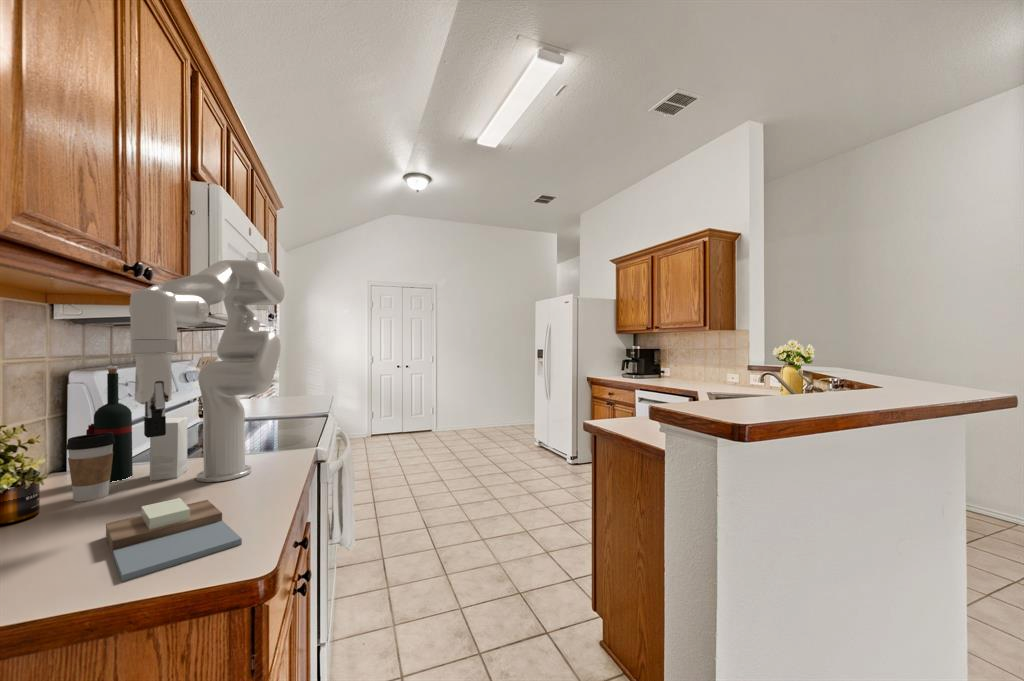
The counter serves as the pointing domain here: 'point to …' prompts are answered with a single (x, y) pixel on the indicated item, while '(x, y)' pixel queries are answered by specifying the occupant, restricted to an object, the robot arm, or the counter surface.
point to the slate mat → (173, 549)
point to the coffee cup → (90, 465)
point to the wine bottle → (115, 429)
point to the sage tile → (165, 513)
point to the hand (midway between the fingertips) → (155, 435)
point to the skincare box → (169, 450)
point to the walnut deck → (138, 531)
